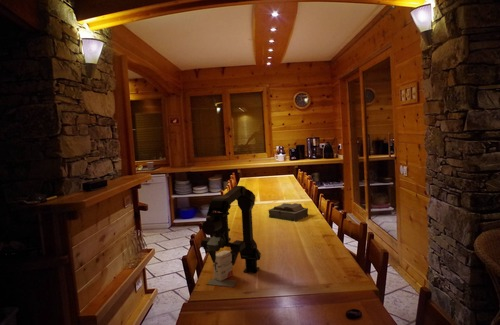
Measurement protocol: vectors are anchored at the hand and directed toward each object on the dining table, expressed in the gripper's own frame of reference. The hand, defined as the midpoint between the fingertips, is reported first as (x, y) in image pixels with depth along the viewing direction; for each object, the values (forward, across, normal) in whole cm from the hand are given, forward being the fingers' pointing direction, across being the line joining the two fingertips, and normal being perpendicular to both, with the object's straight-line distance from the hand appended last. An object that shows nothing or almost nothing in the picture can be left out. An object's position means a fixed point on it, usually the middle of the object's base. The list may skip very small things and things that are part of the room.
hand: (223, 263), depth 145 cm
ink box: (+14, -10, +15) cm, 23 cm away
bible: (+16, -16, +126) cm, 128 cm away
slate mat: (+14, -8, +10) cm, 19 cm away
